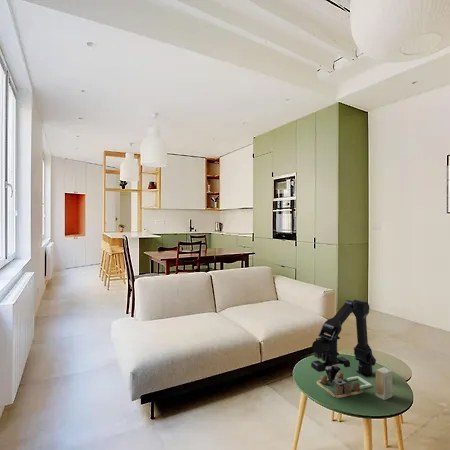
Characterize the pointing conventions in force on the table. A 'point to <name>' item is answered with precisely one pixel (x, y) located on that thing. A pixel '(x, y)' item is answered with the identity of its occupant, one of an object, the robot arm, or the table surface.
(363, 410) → the table surface
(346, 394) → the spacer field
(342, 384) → the grey knob block
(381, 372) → the skincare box
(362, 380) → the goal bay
